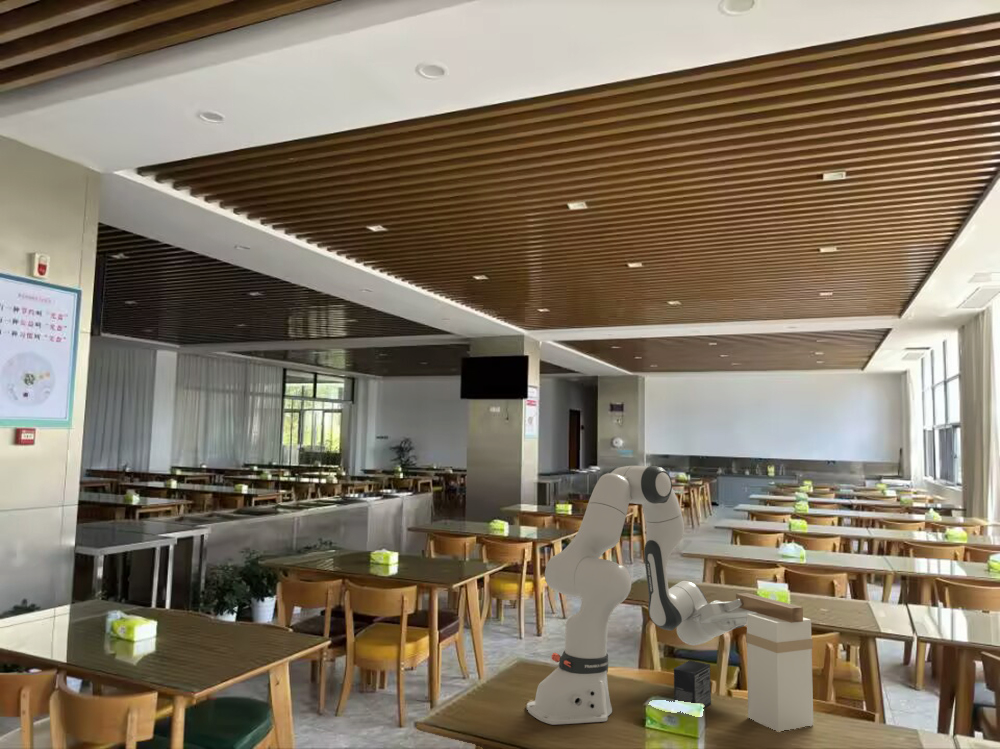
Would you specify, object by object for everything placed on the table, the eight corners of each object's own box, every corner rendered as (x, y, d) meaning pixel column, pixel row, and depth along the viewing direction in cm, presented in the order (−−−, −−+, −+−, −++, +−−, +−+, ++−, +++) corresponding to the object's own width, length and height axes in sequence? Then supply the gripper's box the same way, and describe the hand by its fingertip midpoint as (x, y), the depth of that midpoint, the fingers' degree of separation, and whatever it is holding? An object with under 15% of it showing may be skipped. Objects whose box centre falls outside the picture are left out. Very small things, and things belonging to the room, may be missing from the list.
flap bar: (791, 622, 172) (791, 608, 173) (736, 606, 190) (736, 593, 190) (803, 621, 174) (802, 607, 175) (747, 605, 191) (746, 592, 192)
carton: (778, 732, 168) (776, 623, 171) (747, 717, 178) (746, 614, 181) (814, 726, 173) (811, 619, 177) (782, 711, 183) (780, 611, 186)
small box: (689, 698, 191) (689, 659, 192) (711, 704, 187) (711, 664, 188) (672, 708, 183) (672, 667, 184) (695, 714, 179) (695, 672, 180)
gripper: (685, 608, 196) (715, 591, 186) (740, 604, 204) (771, 587, 194) (693, 631, 192) (724, 615, 182) (748, 625, 201) (780, 610, 191)
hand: (748, 601), depth 188 cm, fingers closed on flap bar, 4 cm apart
